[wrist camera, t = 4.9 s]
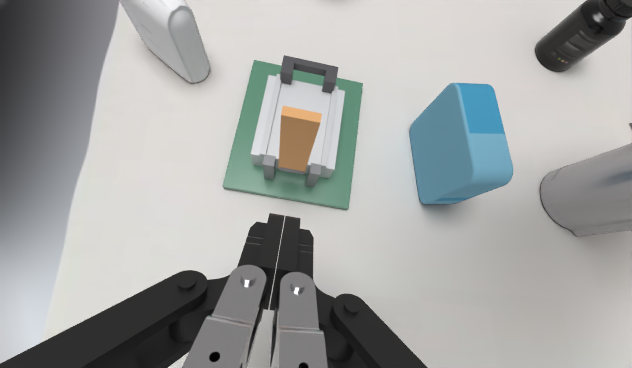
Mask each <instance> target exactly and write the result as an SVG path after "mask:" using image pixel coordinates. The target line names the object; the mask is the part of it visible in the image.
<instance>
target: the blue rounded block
mask: <svg viewBox="0 0 632 368" xmlns="http://www.w3.org/2000/svg"><path fill="white" fill-rule="evenodd" d="M410 140H411V147H412V154H413V161H414V167H415V174H416V181H417V188H418V194H419V198H420V200H421V202H422V203H424V204H455V203H458V202H461V201H463V200H466V199H469V198H472V197H474V196H477V195H480V194H482V193H485V192H488V191H491V190H493V189H496V188H499V187H501V186H504V185H506V184H507V183H508V182H509V181H510V180H511V178H512V175H513V165H512V161H511V157H510V153H509V149H508V145H507V141H506V137H505V132H504V128H503V124H502V120H501V116H500V112H499V108H498V104H497V100H496V96H495V92H494V89H493V87H492V86H490V85H488V84H469V83H451V84H449V85H448V86H447V87H446V88H445V89H444V90H443V91H442V92H441V94H440V95H439V96H438V97H437V98H436V99H435V100H434V101H433V102H432V103H431V104H430V105H429V106H428V107H427V108H426V109H425V110H424V112H423V113H422V114H421V115H420V116H419V117H418V118H417V119H416V120H415V121H414V122H413V123H412V125H411V128H410Z"/></svg>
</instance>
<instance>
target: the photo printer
mask: <svg viewBox="0 0 632 368" xmlns="http://www.w3.org/2000/svg"><path fill="white" fill-rule="evenodd" d="M119 1H120V2H121V4H122V6H123V8H124V9H125V11H126V13H127V15H128V16H129V18H130V20H131V21H132V23H133V25H134V27H135V28H136V30H137V32H138V33H139V35H140V37H141V38H142V40H143V42H144V43H145V44H146V46H147V47H148V48H149V49H150V50H151V51H152V52H153V53H154V54H155V55H157V56H158V57H159V58H160V59H161V60H162V61H163V62H164V63H166V64H167V65H168V66H169V67H170V68H172V69H173V70H174V71H175V72H177V73H178V74H179V75H180V76H182V77H183V78H184V79H186V80H187V81H189V82H191V83H193V82H200V81H202V80H204V79H205V78H206V77H207V75H208V73H209V69H210V64H209V61H208V58H207V55H206V52H205V49H204V46H203V42H202V39H201V36H200V33H199V30H198V27H197V24H196V21H195V17H194V15H193V12H192V10H191V9H190V7H189V6H188V4H187V3H186V1H185V0H119Z"/></svg>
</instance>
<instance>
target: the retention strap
mask: <svg viewBox="0 0 632 368" xmlns="http://www.w3.org/2000/svg"><path fill="white" fill-rule="evenodd" d="M321 117H322V113H317V112H312V111H307V110H302V109H297V108H292V107H287V106H283V107H282V112H281V125H280V146H279V166H278V168H279V170H281V171H286V172H292V173H297V174H304V173H305V170H306V167H307V164H308V161H309V157H310V154H311V151H312V148H313V145H314V142H315V139H316V136H317V132H318V129H319V126H320V123H321Z"/></svg>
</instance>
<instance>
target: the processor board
mask: <svg viewBox="0 0 632 368" xmlns="http://www.w3.org/2000/svg"><path fill="white" fill-rule="evenodd" d="M337 72H338V67H335V66H330V65H326V64H321V63H317V62H312V61H308V60H303V59H298V58H294V57H289V56H285V55H284V58H283V62H282V66H280V65H275V64H271V63H266V62H261V61H257V60H254V63H253V67H252V71H251V75H250V79H249V83H248V87H247V91H246V95H245V99H244V103H243V107H242V111H241V115H240V119H239V123H238V126H237V130H236V134H235V138H234V142H233V146H232V150H231V154H230V158H229V162H228V166H227V170H226V174H225V178H224V182H223V188H224V189H230V190H235V191H241V192H247V193H253V194H258V195H264V196H270V197H276V198H281V199H287V200H293V201H299V202H304V203H310V204H316V205H321V206H327V207H333V208H339V209H344V210H347V209H348V208H349V199H350V190H351V182H352V173H353V164H354V156H355V147H356V138H357V129H358V121H359V112H360V103H361V95H362V86H363V83H359V82H354V81H350V80H345V79H340V78H337ZM283 106H287V107H292V108H297V109H302V110H307V111H312V112H317V113H322V117H321V123H320V126H319V129H318V132H317V136H316V139H315V142H314V145H313V148H312V151H311V154H310V157H309V161H308V164H307V167H306V170H305V173H304V174H297V173H292V172H286V171H281V170H279V168H278V166H279V146H280V125H281V112H282V107H283Z"/></svg>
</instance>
